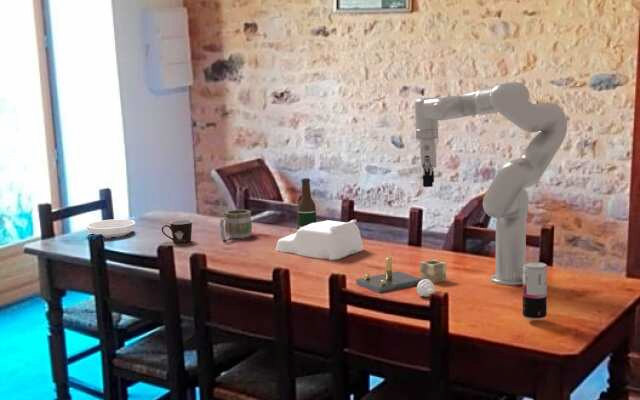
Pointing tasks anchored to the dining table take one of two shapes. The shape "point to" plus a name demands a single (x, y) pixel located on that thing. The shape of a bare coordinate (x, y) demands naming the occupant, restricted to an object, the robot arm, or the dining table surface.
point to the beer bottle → (306, 206)
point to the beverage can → (534, 290)
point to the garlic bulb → (425, 288)
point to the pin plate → (388, 280)
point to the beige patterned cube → (433, 270)
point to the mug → (236, 224)
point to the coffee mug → (180, 231)
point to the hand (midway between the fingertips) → (428, 184)
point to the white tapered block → (323, 240)
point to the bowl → (111, 227)
